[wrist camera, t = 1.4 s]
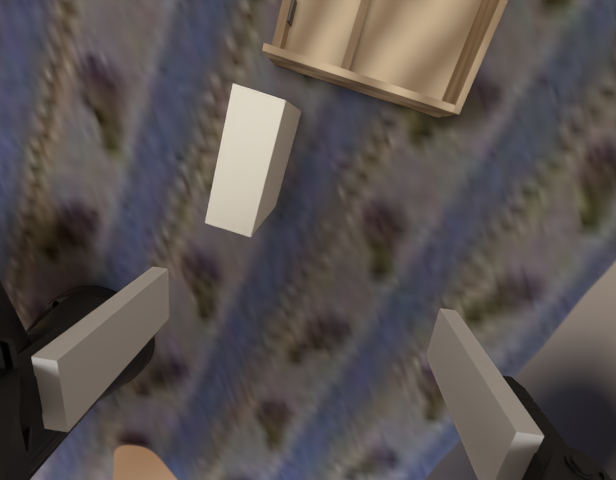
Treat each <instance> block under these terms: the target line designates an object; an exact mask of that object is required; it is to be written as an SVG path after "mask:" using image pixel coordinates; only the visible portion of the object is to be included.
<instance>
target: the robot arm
mask: <svg viewBox="0 0 616 480" xmlns="http://www.w3.org/2000/svg"><path fill="white" fill-rule="evenodd" d="M168 319H169V277H168V269H166V268H159V267H152V268H150V269H149V270H148V271H146V272H145V273H144V274H142V275H141V276H139V277H138V278H137V279H135V280H134V281H133V282H131V283H130V284H129V285H127V286H126V287H125V288H123V289H122V290H121V291H119V292H118V293H116V292H114V291H112V290H109V289H106V288H102V287H96V286H82V287H77V288H74V289H71V290H69V291H67V292H65V293H64V294H62V295H60V296H59V297H57V298H55V299H54V300H52V301H51V302H50V303H49V304H48V305H47V306H46V307H45V308H44V309H43V311H42V312H41V313H40V314H39V315H38V317H37V318H36V319H35V320H34V322H33V323H32V324H31V325H30V326H29V328H28V329H27V330H26V331H25V329H24V327H23V325H22V323H21V321H20V319H19V317H18V315H17V313H16V311H15V309H14V307H13V305H12V303H11V301H10V299H9V297H8V295H7V293H6V291H5V289H4V287H3V285H2V283H1V281H0V480H30V479H31V478H32V476H33V475H34V474H35V473H36V472H37V471H38V469H39V468H40V467H41V466H42V465H43V464H44V463H45V461H46V460H47V459H48V458H49V457H50V456H51V454H52V453H53V452H54V451H55V450H56V449H57V447H58V446H59V445H60V444H61V443H62V442H63V440H64V439H65V438H66V437H67V436H68V435H69V434H70V432H71V431H72V430H73V429H74V428H75V427H76V425H77V424H78V423H79V422H80V421H81V420H82V418H83V417H84V416H85V415H86V414H87V413H88V411H89V410H90V409H91V408H92V407H93V406H94V405H95V404H96V403H97V401H99V400H100V399H102V398H104V397H105V396H107V395H108V394H110V393H112V392H113V391H115V390H116V389H118V388H119V387H121V386H122V385H124V384H126V383H128V382H129V381H131V380H132V379H134V378H135V377H136V376H137V375H138V374H139V373H140V372H141V370H142V369H143V368H144V367H145V365H146V364H147V363H148V361H149V360H150V358H151V356H152V353H153V348H154V339H153V336H154V335H155V333H156V332H157V331H158V330H159V329H160V328H161V327H162V325H163V324H164V323H165V322H166V321H167V320H168ZM426 358H427V360H428V363H429V365H430V367H431V370H432V372H433V374H434V377H435V379H436V381H437V384H438V386H439V389H440V391H441V393H442V396H443V398H444V400H445V403H446V405H447V407H448V410H449V412H450V415H451V417H452V419H453V422H454V424H455V426H456V429H457V431H458V433H459V436H460V438H461V441H462V443H463V445H464V448H465V450H466V452H467V455H468V457H469V459H470V462H471V464H472V467H473V469H474V471H475V474H476V476H477V478H478V480H612V479H610V477H609V476H608V474H607V473H606V471H605V470H604V469H603V468H602V467H601V466H600V465H599V464H598V463H597V462H596V461H595V460H593V459H592V458H590V457H589V456H587V455H586V454H584V453H583V452H581V451H578V450H576V449H574V448H572V447H569V446H568V445H567V444H566V442H565V441H564V440H563V438H562V437H561V436H560V434H559V433H558V432H557V430H556V429H555V428H554V426H553V425H552V424H551V423H550V421H549V420H548V418H547V417H546V416H545V415H544V413H543V412H541V409H540V408H539V407H538V405H537V404H536V403H535V402H533V399H532V397H531V396H530V395H529V393H528V392H527V391H526V389H525V388H524V387H522V386H521V385H520V384H519V383H518V382H516V381H515V380H514V379H513V378H512V377H508V376H502V375H501V374H500V372H499V371H498V369H497V368H496V366H495V365H494V364H493V362H492V361H491V359H490V358H489V357H488V355H487V354H486V352H485V351H484V349H483V348H482V347H481V345H480V344H479V342H478V341H477V339H476V338H475V337H474V335H473V334H472V332H471V331H470V330H469V328H468V327H467V325H466V324H465V322H464V321H463V320H462V318H461V317H460V315H459V314H458V313H457V311H456V310H449V309H442V308H440V309H439V313H438V316H437V320H436V323H435V326H434V330H433V333H432V337H431V340H430V344H429V347H428V350H427V354H426Z"/></svg>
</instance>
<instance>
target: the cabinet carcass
mask: <svg viewBox="0 0 616 480" xmlns="http://www.w3.org/2000/svg"><path fill="white" fill-rule="evenodd" d="M507 2H508V0H282V4H281V8H280V13H279V17H278V21H277V26H276V30H275V34H274V39H273V43H272V45H269V44H266V43H264V45H263V50H262V51H263V52H264V53H265V54H266V55H267V57H268V58H269V59H270V60H271V61H272V62H273V64H274V65H277V66H280V67H283V68H286V69H289V70H292V71H295V72H298V73H302V74H305V75H308V76H311V77H314V78H317V79H320V80H323V81H326V82H329V83H332V84H336V85H339V86H342V87H345V88H348V89H351V90H354V91H357V92H360V93H363V94H366V95H369V96H373V97H376V98H379V99H382V100H385V101H388V102H391V103H394V104H397V105H400V106H403V107H407V108H410V109H413V110H416V111H419V112H422V113H425V114H428V115H431V116H434V117H437V118H439V117H446V116H452V115H459V113H460V111H461V109H462V106H463V104H464V102H465V99H466V97H467V95H468V93H469V90H470V88H471V86H472V83H473V81H474V79H475V76H476V74H477V72H478V69H479V67H480V65H481V62H482V60H483V58H484V55H485V53H486V51H487V48H488V46H489V44H490V41H491V39H492V37H493V34H494V32H495V30H496V27H497V25H498V23H499V20H500V18H501V16H502V13H503V11H504V9H505V6H506V4H507Z"/></svg>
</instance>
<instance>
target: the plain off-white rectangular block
mask: <svg viewBox="0 0 616 480" xmlns="http://www.w3.org/2000/svg"><path fill="white" fill-rule="evenodd" d="M301 112H302V111H301V110H299V109H298V108H296V107H295V106H293V105H292V104H290V103H289V102H287V101H286V100H283V99H280V98H277V97H274V96H271V95H268V94H265V93H261V92H258V91H255V90H252V89H249V88H246V87H243V86H240V85H237V84H233V86H232V91H231V96H230V101H229V106H228V111H227V116H226V121H225V125H224V130H223V135H222V140H221V145H220V150H219V155H218V160H217V165H216V170H215V175H214V180H213V185H212V190H211V193H210V196H209V205H208V210H207V215H206V220H205V223H207V224H210V225H213V226H216V227H220V228H223V229H226V230H229V231H232V232H236V233H239V234H242V235H245V236H248V237H251V236H252V235H253V234H254V233H255V231H256V230H257V229H258V228H259V226H260V225H261V224H262V223H263V221H264V220H265V219H266V218H267V217H268V215H269V214H270V213H271V212H272V210H273V209H274V208H275V207H276V203H277V200H278V196H279V192H280V189H281V185H282V181H283V178H284V174H285V170H286V167H287V163H288V160H289V156H290V152H291V149H292V145H293V141H294V138H295V134H296V130H297V127H298V123H299V119H300V116H301Z"/></svg>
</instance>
